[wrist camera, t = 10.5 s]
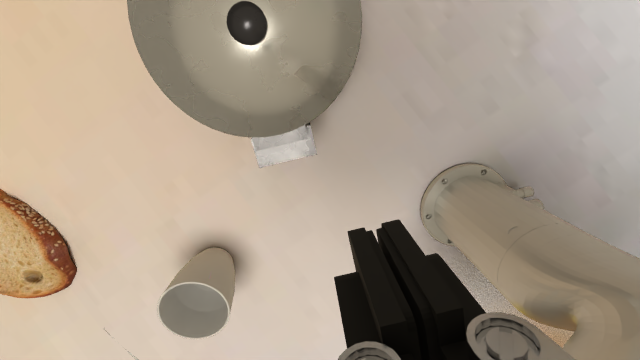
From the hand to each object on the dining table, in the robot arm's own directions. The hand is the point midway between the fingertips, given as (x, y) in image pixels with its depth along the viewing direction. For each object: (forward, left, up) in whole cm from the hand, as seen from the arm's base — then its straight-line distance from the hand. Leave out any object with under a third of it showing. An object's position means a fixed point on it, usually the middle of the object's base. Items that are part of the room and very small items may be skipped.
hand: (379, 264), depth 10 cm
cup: (+19, +16, -31) cm, 40 cm away
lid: (+4, -12, -20) cm, 24 cm away
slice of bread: (+45, +5, -32) cm, 56 cm away
